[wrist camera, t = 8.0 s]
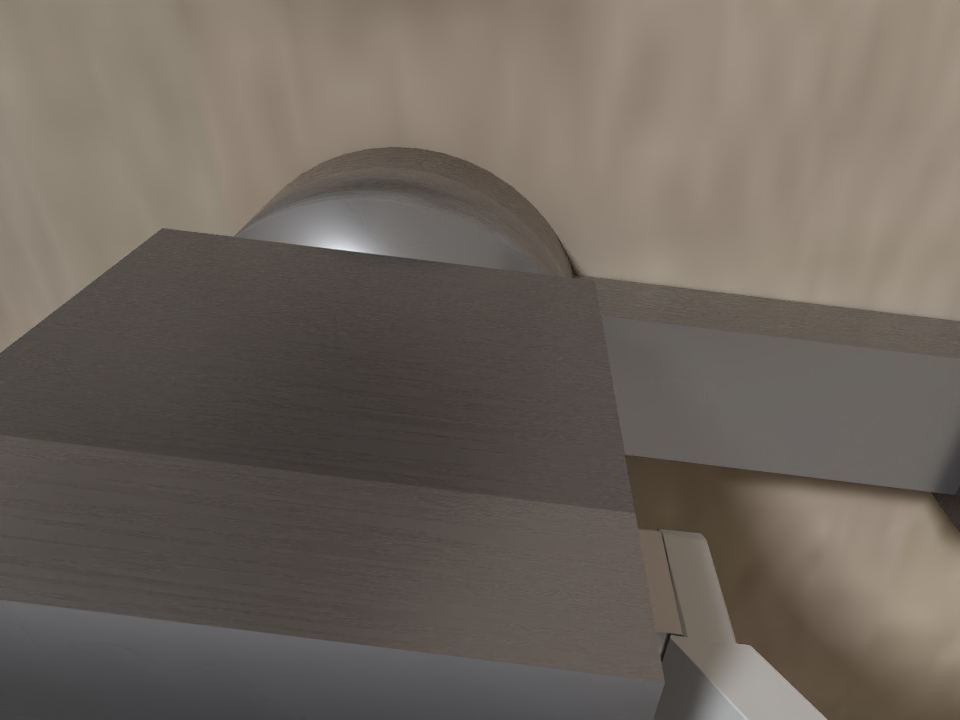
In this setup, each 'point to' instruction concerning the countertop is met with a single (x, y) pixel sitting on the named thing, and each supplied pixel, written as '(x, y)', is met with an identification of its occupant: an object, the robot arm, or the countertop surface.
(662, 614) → the robot arm
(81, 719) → the grey metal cube
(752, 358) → the ratchet
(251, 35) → the countertop surface
